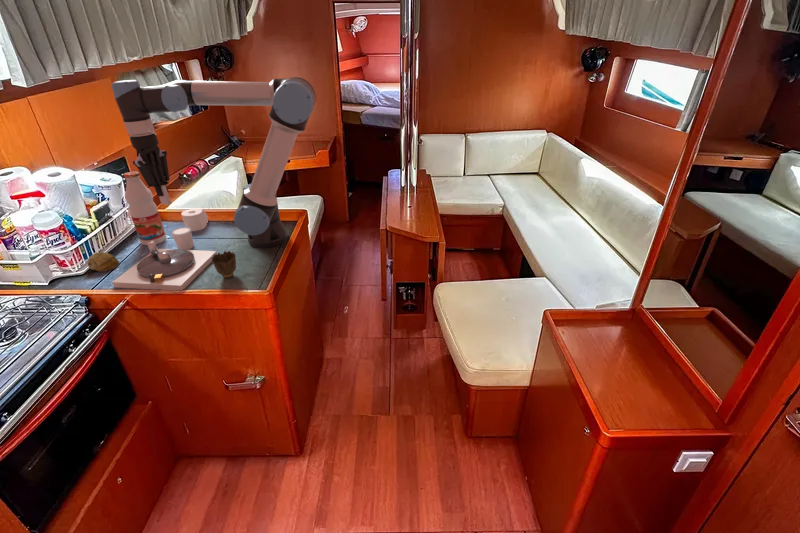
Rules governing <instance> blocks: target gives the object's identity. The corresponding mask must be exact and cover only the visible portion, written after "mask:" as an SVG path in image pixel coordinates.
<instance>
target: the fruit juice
mask: <svg viewBox="0 0 800 533" xmlns="http://www.w3.org/2000/svg"><path fill="white" fill-rule="evenodd" d="M139 172H140V171H135V170H134V171H129V172H128V171H127V172H124V174H123V176H124V179H125V180H126V186H125V187H126V188H125V192H124V198H125V201H126V203H127V204H128V206H129V207H128V212H129V214H130V216H131V221H132V223H133V225H134V229H135V231H136V234H137V237H138V240H139V242H140V243H141V245H143V246H147V247H148V244H147V242H149V241H155V244H156V245H159V244H162V243H164V242H165V241H166V239H167V235H166V231H165V229H164V226H163V223H162V220H161V216H160V212H159V209H158V206H157V204H156V203H155V202H154V197H153V196H154V195H153V193H152V191H151V189H150V188H148V187H147V186H146V184H144V182H143V180H141V178H140V177H141V176H140V175H141V174H140V173H139Z"/></svg>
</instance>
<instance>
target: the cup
mask: <svg viewBox="0 0 800 533" xmlns="http://www.w3.org/2000/svg"><path fill="white" fill-rule="evenodd" d="M236 259H237V257H236V254H235V252H231V251H230V250H228V251H226V250H225V251H223V253H221V252H217V254H215V255H214V257H212V263H213V267H214V268H215V270H216V272H217V273H218V274H219V275H221V276H222V277H223V279H231V278H233V277H234V274H235V273H234V272H235V271H236V269H237V262H236V261H237V260H236Z"/></svg>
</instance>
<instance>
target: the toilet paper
mask: <svg viewBox="0 0 800 533" xmlns="http://www.w3.org/2000/svg"><path fill="white" fill-rule="evenodd" d="M180 214H181V218H182V222H183V224H184V227H187V228H190V229H191V232H196V231H197V232H198V231H201V230H204V229H206V227H207V226H208V224H207V223H209V222H208V218H209V216H208V214H207V213H206V211H205V209H204V207H203V206H202V209H201V208H190V209H186V210H183V211H182V212H181V213H180Z"/></svg>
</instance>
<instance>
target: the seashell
mask: <svg viewBox="0 0 800 533" xmlns="http://www.w3.org/2000/svg"><path fill="white" fill-rule="evenodd" d="M86 263H87V267H88V269H91V271H96V272H100V273H101V272H107V271H113V270H114V269H116V268H118V267H119V266H120V264H121V263H120V262H119V260H118V258H117V257H116V256H115V255H113V254H111V253H107V252H103V251H102V252H100V251H99V252H95V253H93V254H91V255H90V256H89V258H88V259H87V262H86Z"/></svg>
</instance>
